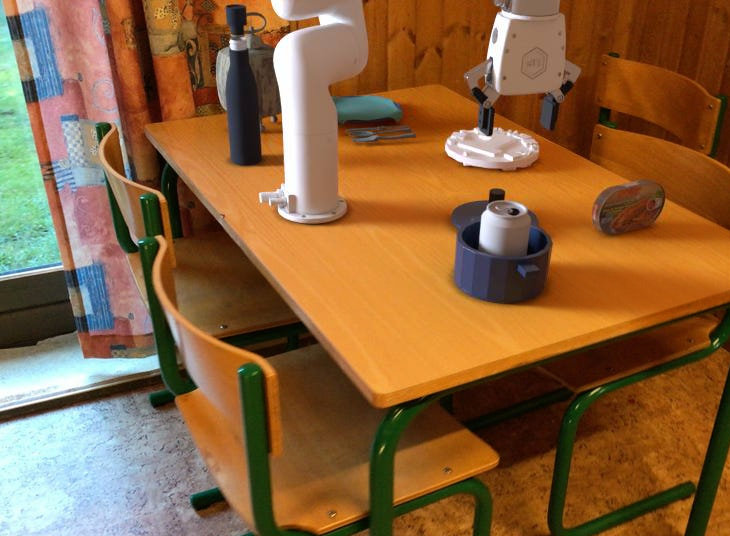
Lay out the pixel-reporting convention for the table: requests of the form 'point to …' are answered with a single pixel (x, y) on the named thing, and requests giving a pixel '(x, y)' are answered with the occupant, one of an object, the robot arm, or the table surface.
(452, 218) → the pot lid
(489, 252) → the can
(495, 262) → the pot
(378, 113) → the cutlery set
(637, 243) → the table surface
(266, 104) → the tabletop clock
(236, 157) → the dark blue bottle
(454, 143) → the embossed medallion
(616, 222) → the tin
